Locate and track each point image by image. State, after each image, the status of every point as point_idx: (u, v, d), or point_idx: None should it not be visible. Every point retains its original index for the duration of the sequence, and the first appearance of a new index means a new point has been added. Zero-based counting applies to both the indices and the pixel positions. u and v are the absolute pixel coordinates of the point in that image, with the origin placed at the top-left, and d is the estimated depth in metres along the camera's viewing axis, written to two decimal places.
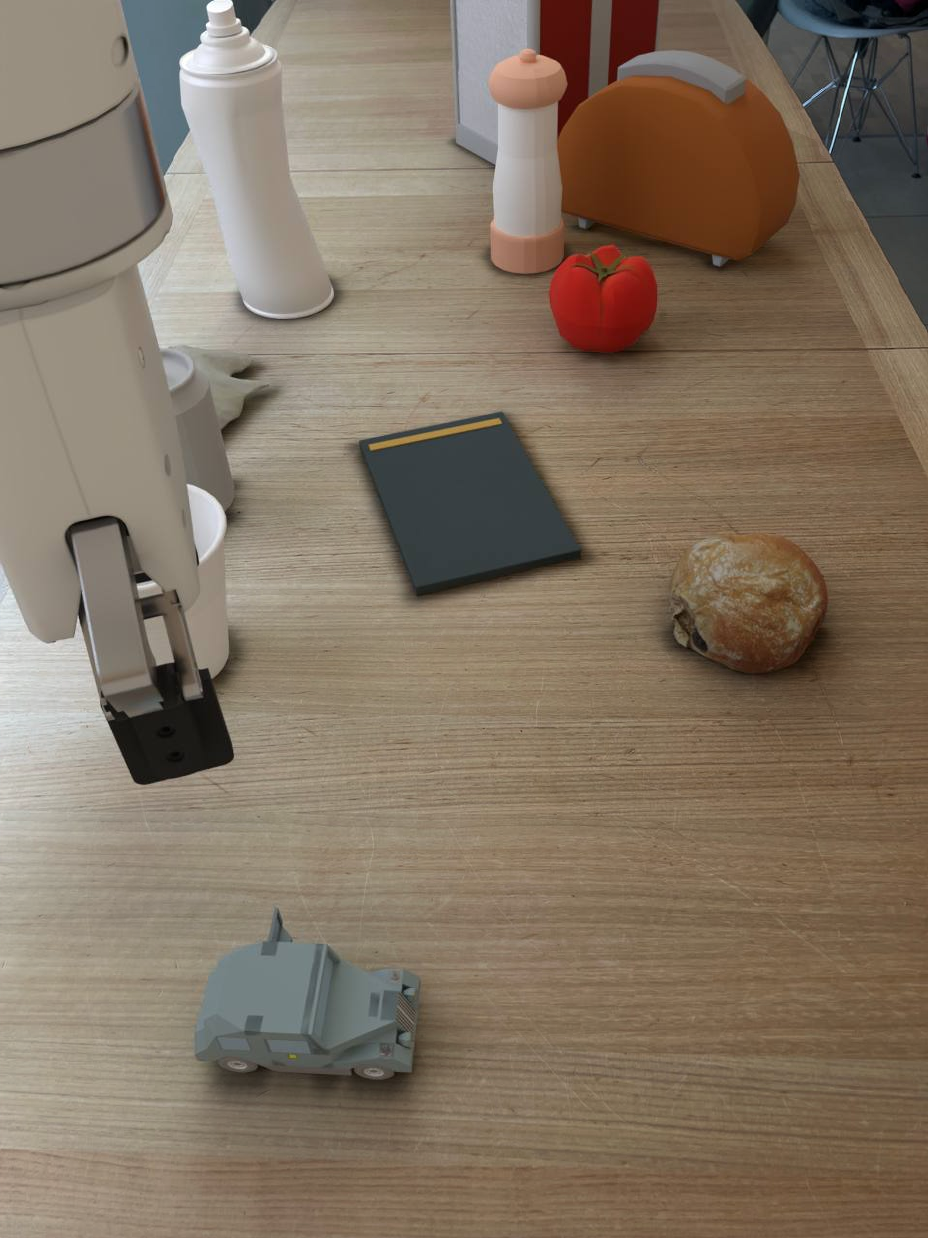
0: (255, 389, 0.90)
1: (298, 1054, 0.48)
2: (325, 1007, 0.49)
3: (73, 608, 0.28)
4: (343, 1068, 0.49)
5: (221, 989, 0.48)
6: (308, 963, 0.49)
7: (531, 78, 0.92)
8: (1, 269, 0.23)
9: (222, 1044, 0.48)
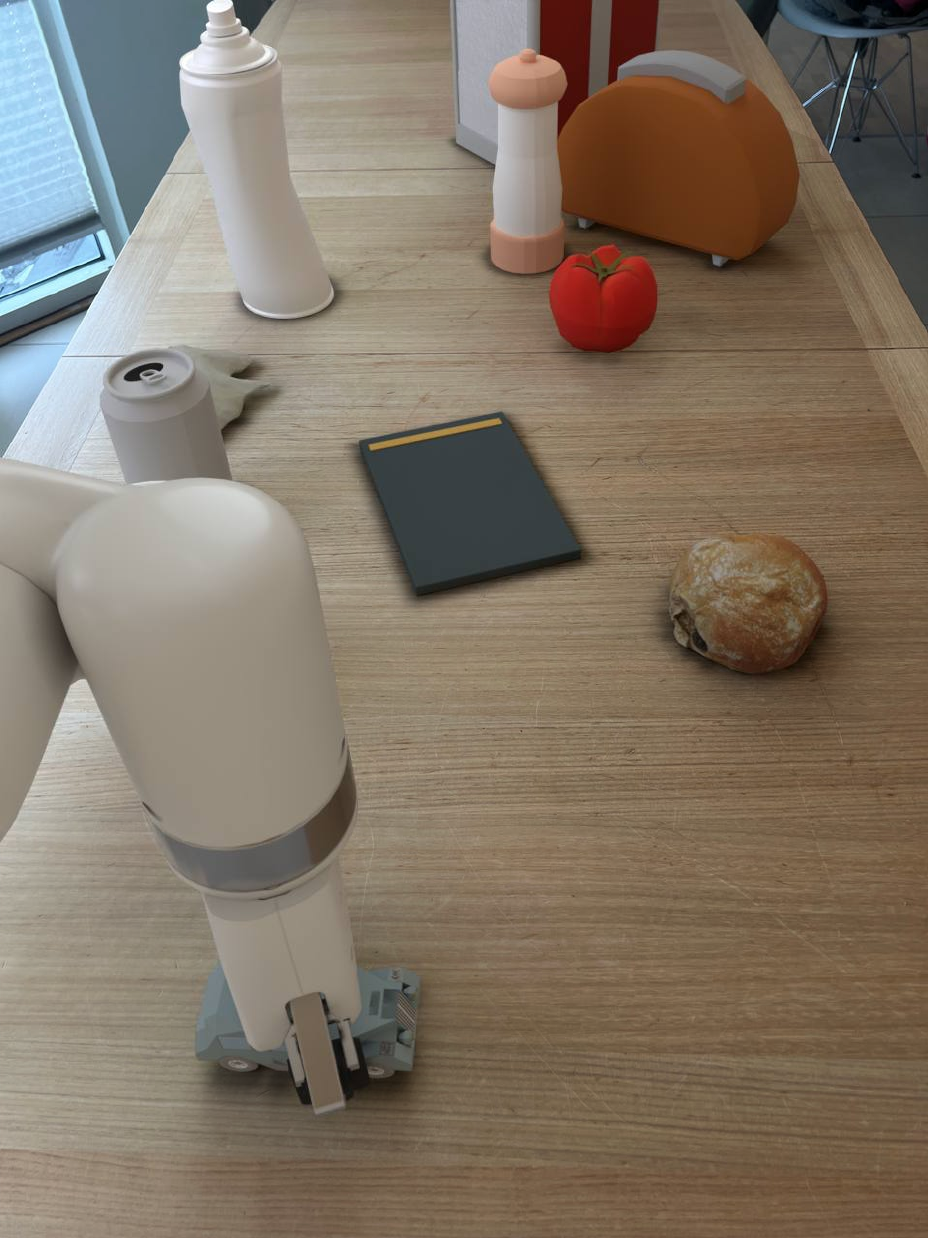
0: (255, 389, 0.90)
1: None
2: None
3: (282, 1037, 0.42)
4: None
5: (221, 988, 0.48)
6: None
7: (531, 78, 0.92)
8: (266, 882, 0.37)
9: (223, 1043, 0.48)
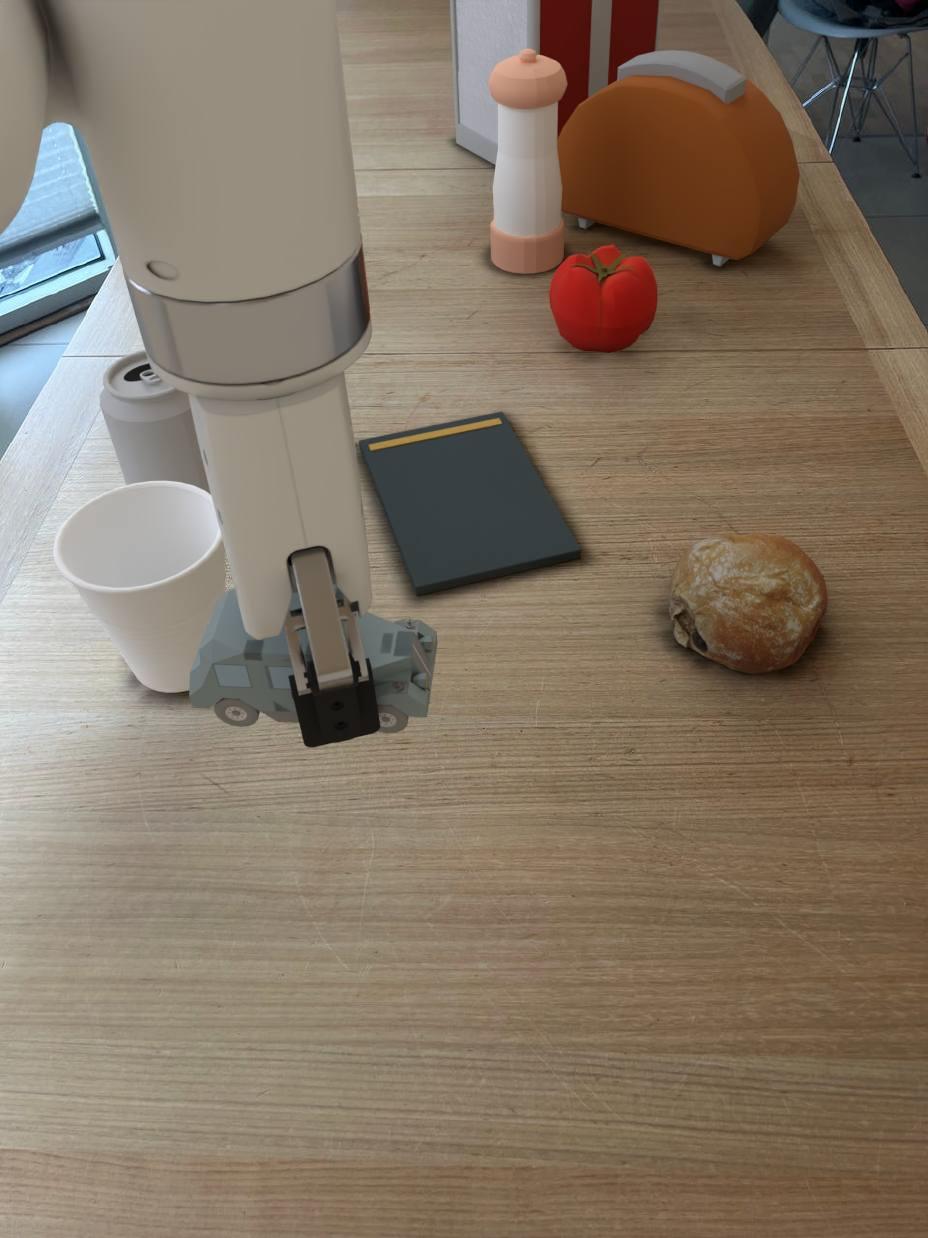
0: None
1: None
2: None
3: (283, 613, 0.38)
4: None
5: (219, 618, 0.44)
6: None
7: (531, 78, 0.92)
8: (267, 371, 0.33)
9: (219, 677, 0.44)
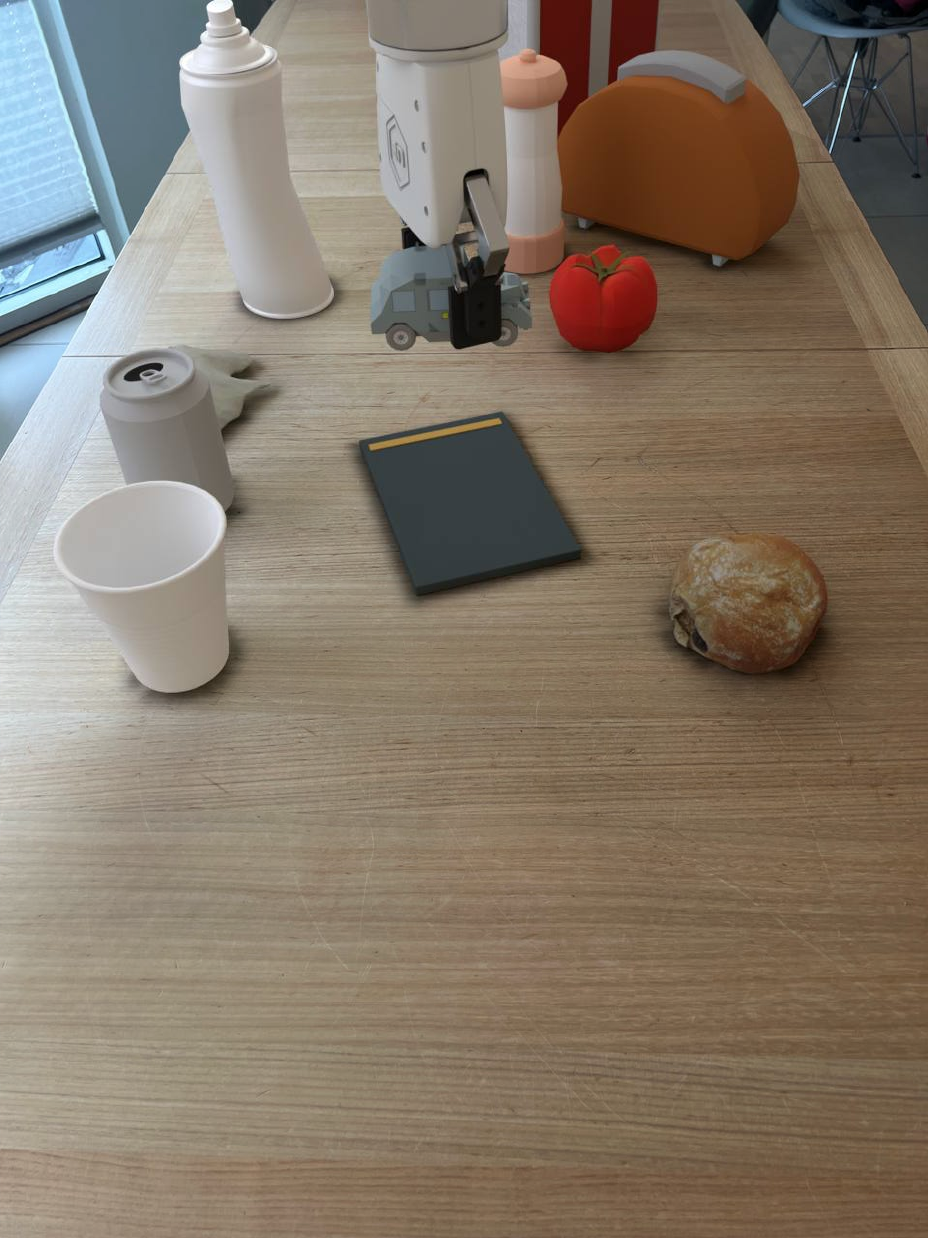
0: (255, 389, 0.89)
1: None
2: None
3: (456, 222, 0.59)
4: None
5: (390, 265, 0.65)
6: None
7: (531, 78, 0.92)
8: (460, 40, 0.54)
9: (394, 303, 0.65)
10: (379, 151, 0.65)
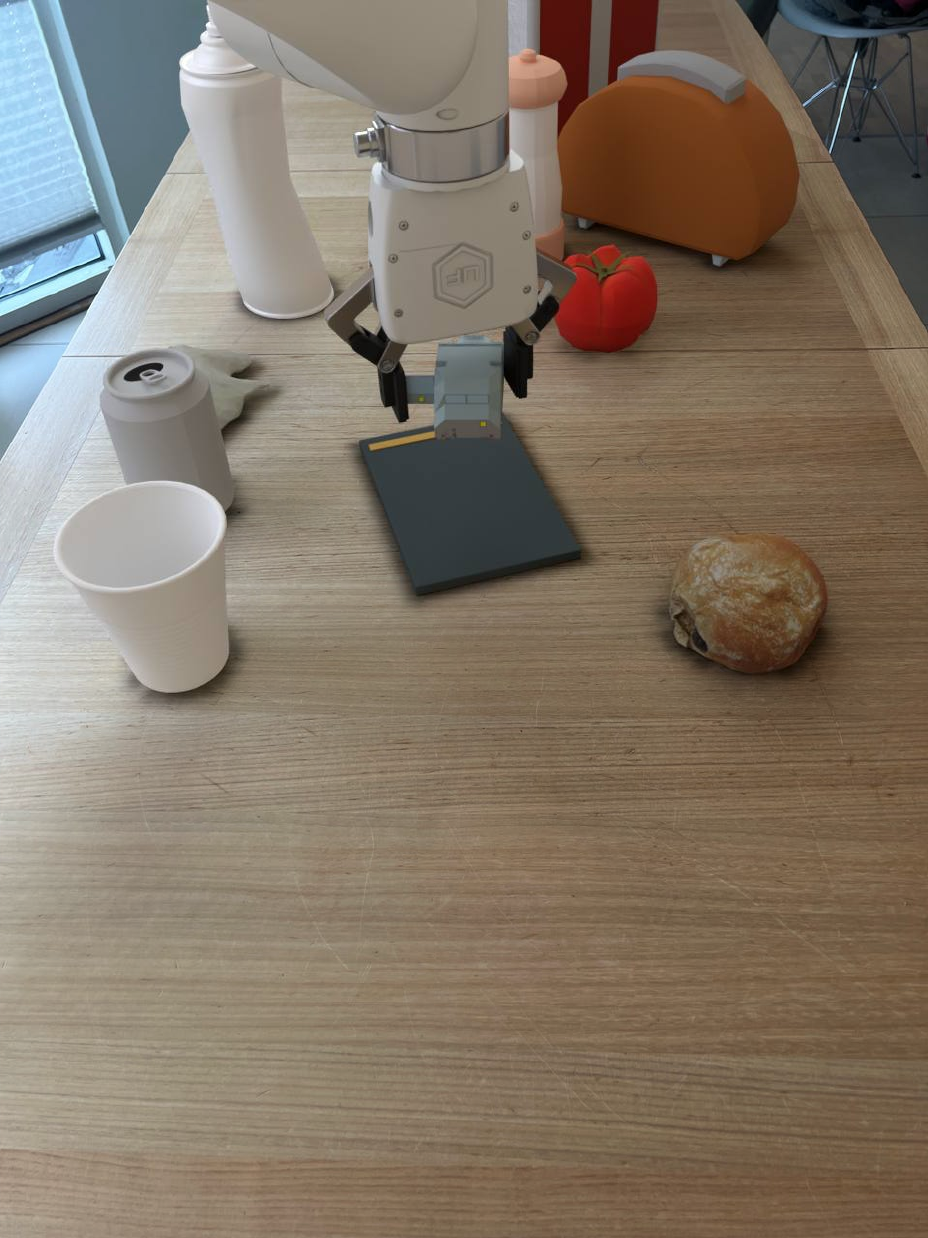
0: (255, 389, 0.89)
1: (502, 378, 0.72)
2: None
3: None
4: (503, 378, 0.75)
5: (471, 378, 0.68)
6: (452, 347, 0.71)
7: (531, 78, 0.92)
8: None
9: (500, 397, 0.70)
10: (396, 308, 0.65)
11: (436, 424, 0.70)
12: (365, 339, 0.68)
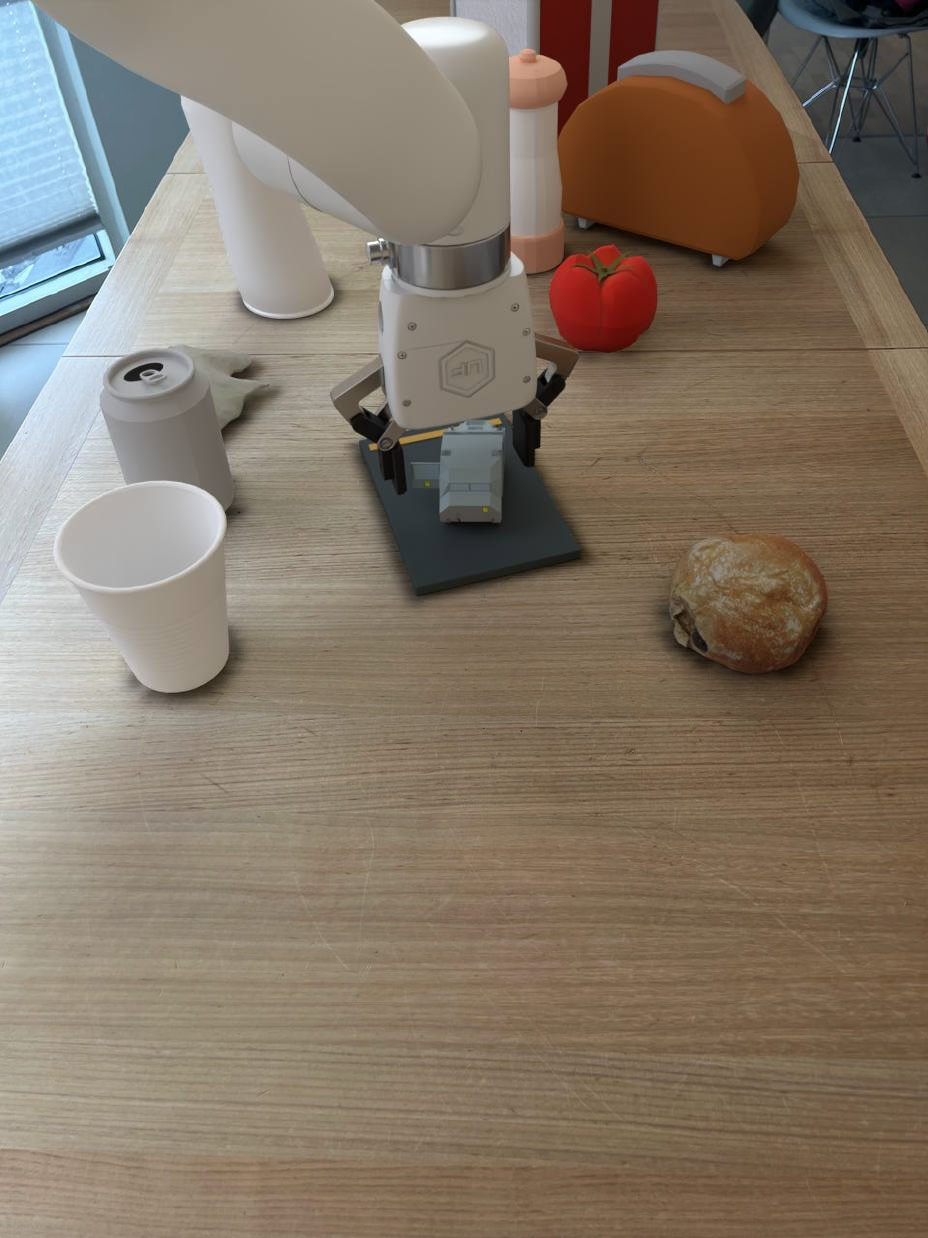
0: (255, 389, 0.89)
1: None
2: None
3: None
4: None
5: (473, 468, 0.73)
6: (456, 436, 0.76)
7: (531, 78, 0.92)
8: None
9: (501, 484, 0.75)
10: (404, 399, 0.69)
11: (441, 509, 0.75)
12: (365, 420, 0.72)
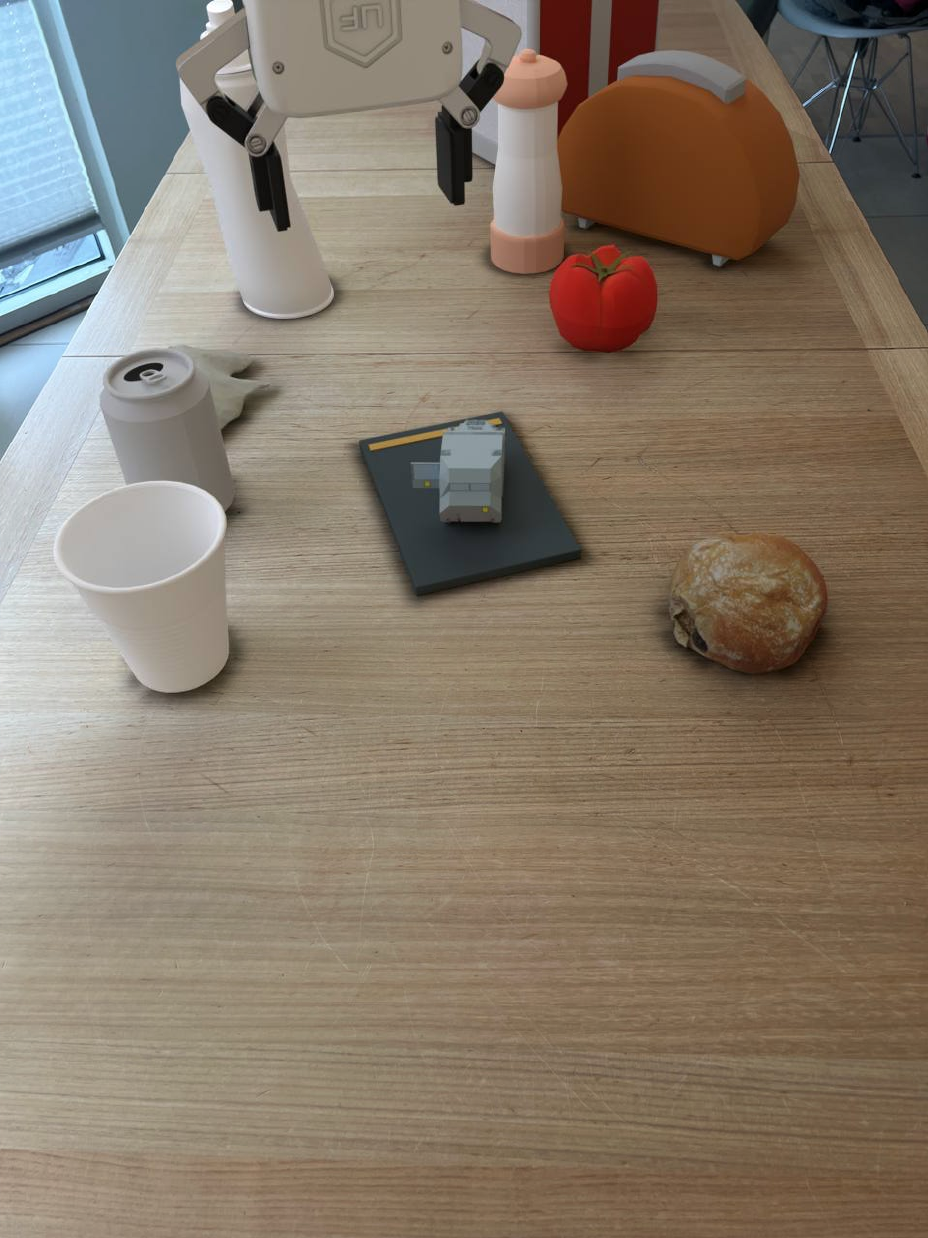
0: (255, 389, 0.90)
1: None
2: None
3: None
4: None
5: (473, 468, 0.73)
6: (456, 436, 0.76)
7: (531, 78, 0.92)
8: None
9: None
10: (274, 60, 0.50)
11: (441, 509, 0.75)
12: (226, 105, 0.52)
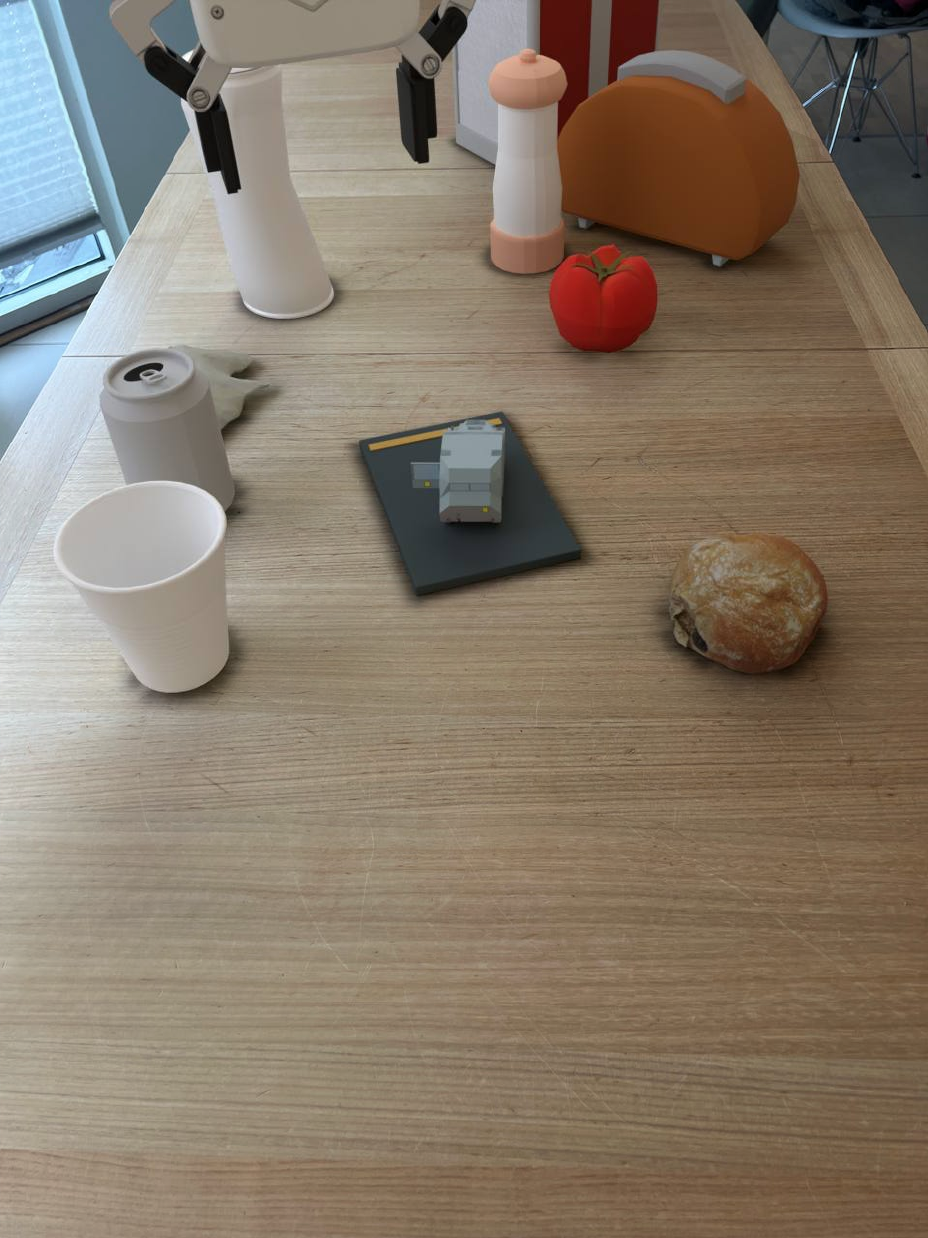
0: (255, 389, 0.90)
1: None
2: None
3: None
4: None
5: (473, 468, 0.73)
6: (456, 436, 0.76)
7: (531, 78, 0.92)
8: None
9: None
10: (212, 4, 0.46)
11: (441, 509, 0.75)
12: (165, 56, 0.48)
